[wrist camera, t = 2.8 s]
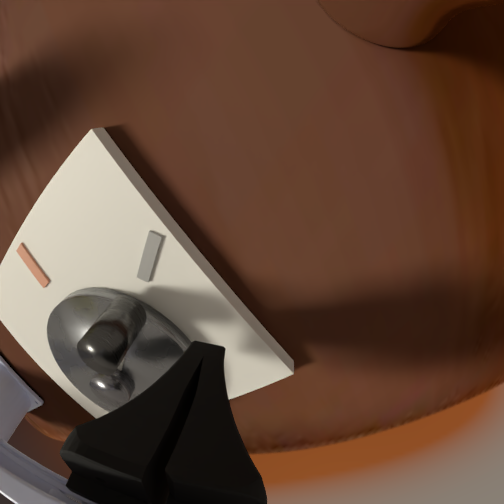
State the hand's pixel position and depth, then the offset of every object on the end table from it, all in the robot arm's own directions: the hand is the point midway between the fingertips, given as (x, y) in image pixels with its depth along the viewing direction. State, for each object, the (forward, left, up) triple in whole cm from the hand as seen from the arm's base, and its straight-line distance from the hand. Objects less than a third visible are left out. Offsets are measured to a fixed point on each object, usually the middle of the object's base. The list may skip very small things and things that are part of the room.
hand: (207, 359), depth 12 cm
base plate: (-7, +3, -3) cm, 8 cm away
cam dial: (-7, +1, -2) cm, 7 cm away
